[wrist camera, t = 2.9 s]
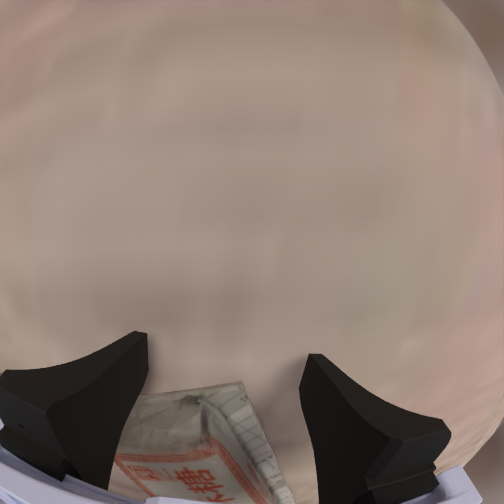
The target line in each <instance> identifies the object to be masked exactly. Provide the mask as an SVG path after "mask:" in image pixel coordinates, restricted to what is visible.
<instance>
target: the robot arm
mask: <svg viewBox="0 0 504 504" xmlns="http://www.w3.org/2000/svg"><path fill="white" fill-rule="evenodd" d="M148 370H149V367H148V345H147V333H142V332H138V331H133V332H131V333H129V334H128V335H126V336H124V337H122V338H121V339H119V340H117V341H115V342H114V343H112V344H110V345H108V346H106V347H104V348H102V349H100V350H98V351H96V352H94V353H92V354H90V355H88V356H85V357H83V358H80V359H77V360H75V361H72V362H68V363H65V364H61V365H56V366H52V367H47V368H40V369H30V370H5V371H4V372H3V373H2V374H1V375H0V504H236V503H222V502H212V501H203V500H196V499H189V498H183V497H173V496H164V495H162V496H155V497H150V498H147V499H146V501H145V502H143V501H139V500H135V499H132V498H128V497H125V496H122V495H119V494H116V493H113V492H110V491H108V485H109V480H110V475H111V470H112V466H113V462H114V458H115V454H116V450H117V447H118V443H119V440H120V437H121V434H122V431H123V428H124V425H125V423H126V421H127V419H128V417H129V415H130V412H131V410H132V408H133V406H134V404H135V402H136V400H137V398H138V396H139V394H140V392H141V390H142V388H143V386H144V383H145V380H146V376H147V373H148ZM299 394H300V401H301V407H302V411H303V414H304V418H305V421H306V425H307V428H308V431H309V435H310V438H311V442H312V446H313V450H314V457H315V464H316V472H317V481H318V495H319V504H480V503H481V502H482V500H483V499H482V498H481V496H480V495H479V493H478V491H477V490H476V488H475V487H474V485H473V484H472V482H471V480H470V479H469V478H468V476H467V474H466V473H465V471H464V470H463V468H462V467H461V465H457V466H455V467H452V468H450V469H448V470H446V471H443V472H441V473H440V474H438V475H437V476H435V475H434V473H433V471H435V469H436V466H435V464H434V463H433V462H434V461H435V460H436V459H437V457H438V456H439V455H440V454H441V452H442V451H443V450H444V449H445V447H446V446H447V445H448V443H449V441H450V438H451V431H450V430H449V428H448V427H447V426H446V424H445V423H444V421H443V420H442V419H438V418H433V417H428V416H424V415H420V414H417V413H413V412H410V411H407V410H405V409H402V408H399V407H397V406H395V405H393V404H390V403H388V402H386V401H384V400H382V399H381V398H379V397H377V396H375V395H374V394H372V393H370V392H369V391H367V390H366V389H364V388H363V387H362V386H360V385H359V384H357V383H356V382H355V381H354V380H352V379H351V378H350V377H348V376H347V375H346V374H345V373H344V372H343V371H341V370H340V369H339V368H338V367H337V366H336V365H334V364H333V363H332V362H331V361H330V360H329V359H327V358H326V357H325V356H324V355H322V354H309V355H308V359H307V362H306V366H305V369H304V372H303V376H302V379H301V382H300V385H299Z"/></svg>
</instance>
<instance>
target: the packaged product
mask: <svg viewBox="0 0 504 504" xmlns="http://www.w3.org/2000/svg"><path fill="white" fill-rule="evenodd" d="M114 461H115V463H116V464H117V466H119V467H120V469H121V470H122V471H124V472H125V473H126V474H127V475H128V476H129V477H130V478H131V479H132V480H133V481H134V482H135V483H136V484H137V485H138V486H139V487H140V488H142V489H143V490H144V491H145V492H146V493H148V494H149V495H150V496H151V497H155V496H162V495H164V496H173V497H183V498H189V499H196V500H203V501H212V502H222V503H236V504H296V502H295V499H294V497H293V494H292V492H291V490H290V489H289V488H288V486H287V484H286V481H285V479H284V477H283V475H282V473H281V470H280V468H279V466H278V463H277V460H276V456H275V454H274V453H273V450H272V448H271V447H270V445H269V444H268V442H267V439H266V437H265V434H264V431H263V429H262V426H261V423H260V421H259V419H258V417H257V415H256V413H255V411H254V409H253V406H252V404H251V402H250V400H249V398H248V396H247V393H246V390H245V387H244V384H243V383H242V382H241V381H239V382H234V383H228V384H222V385H216V386H210V387H203V388H197V389H189V390H182V391H173V392H164V393H158V394H151V395H139V396H138V398H137V400H136V402H135V404H134V406H133V408H132V410H131V412H130V415H129V417H128V419H127V421H126V423H125V425H124V428H123V431H122V434H121V437H120V440H119V443H118V447H117V450H116V454H115V458H114Z"/></svg>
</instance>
